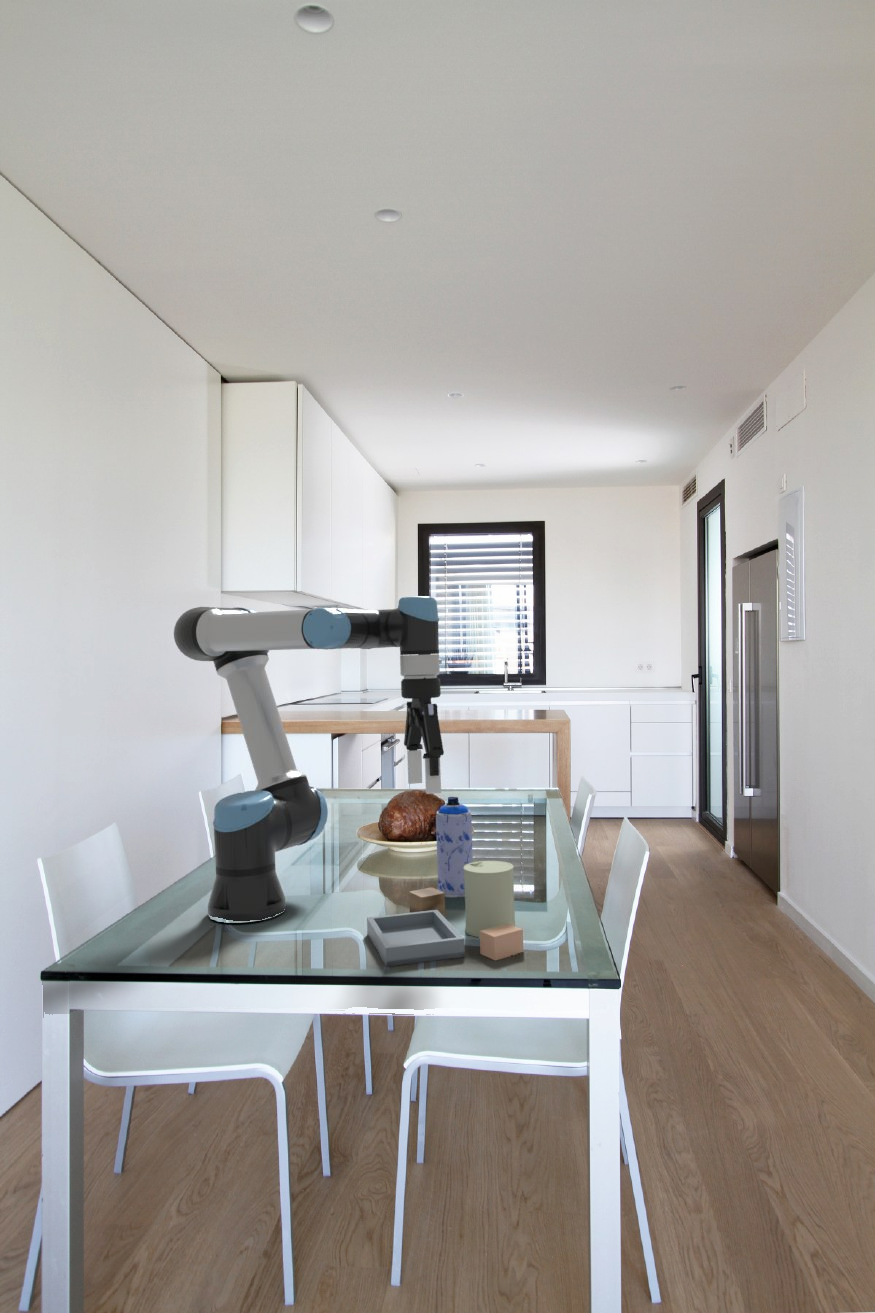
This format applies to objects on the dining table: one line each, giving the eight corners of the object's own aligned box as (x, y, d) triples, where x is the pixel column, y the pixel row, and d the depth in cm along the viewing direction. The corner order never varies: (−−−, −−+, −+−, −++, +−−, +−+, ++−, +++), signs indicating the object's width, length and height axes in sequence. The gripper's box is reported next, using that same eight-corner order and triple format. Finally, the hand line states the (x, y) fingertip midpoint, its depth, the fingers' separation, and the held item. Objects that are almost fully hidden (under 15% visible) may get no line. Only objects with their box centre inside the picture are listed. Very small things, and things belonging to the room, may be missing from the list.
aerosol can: (481, 890, 182) (478, 795, 182) (461, 899, 175) (458, 801, 175) (450, 885, 186) (447, 793, 186) (430, 894, 180) (427, 799, 180)
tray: (464, 956, 142) (463, 938, 142) (386, 966, 138) (385, 948, 138) (437, 926, 158) (437, 909, 158) (367, 934, 155) (366, 917, 155)
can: (485, 919, 162) (482, 855, 162) (525, 927, 156) (523, 861, 156) (454, 932, 155) (452, 866, 155) (496, 942, 149) (494, 873, 149)
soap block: (495, 961, 140) (494, 937, 140) (480, 954, 143) (479, 930, 143) (523, 953, 143) (522, 929, 143) (508, 946, 146) (507, 923, 146)
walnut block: (422, 924, 160) (421, 897, 160) (409, 917, 164) (409, 891, 164) (445, 919, 163) (444, 893, 163) (432, 913, 167) (431, 887, 167)
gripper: (458, 677, 153) (462, 796, 153) (422, 675, 177) (426, 778, 177) (417, 679, 151) (421, 799, 151) (387, 676, 175) (390, 780, 175)
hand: (424, 788), depth 164 cm, fingers open, 13 cm apart
